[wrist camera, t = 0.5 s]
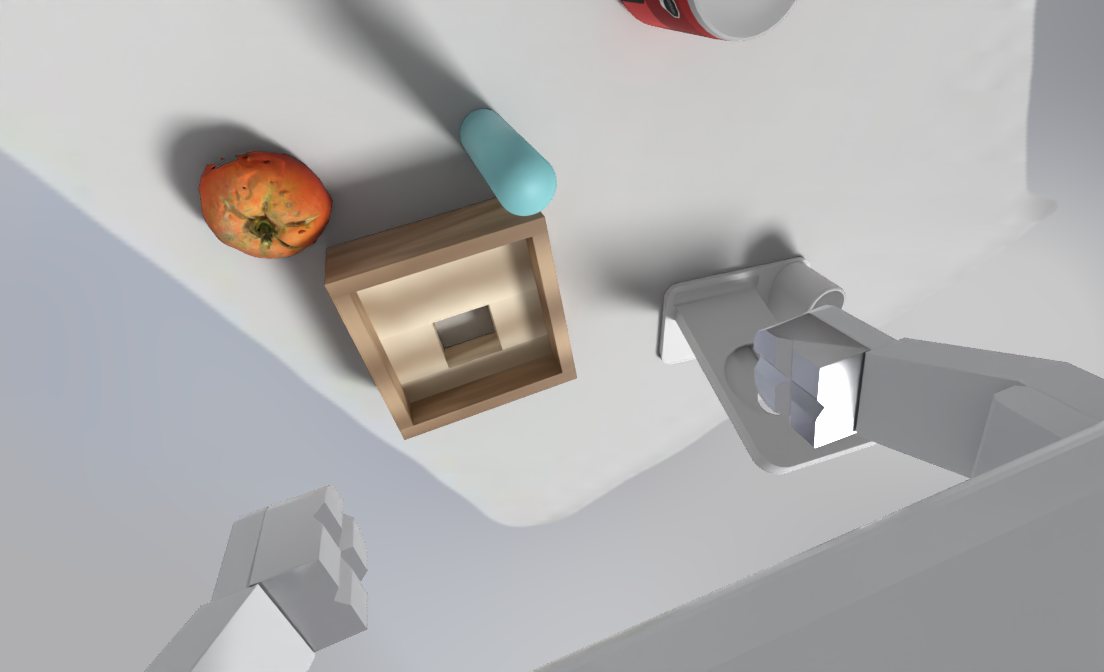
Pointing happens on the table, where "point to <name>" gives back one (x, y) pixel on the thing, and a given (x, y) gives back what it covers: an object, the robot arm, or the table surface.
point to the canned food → (713, 16)
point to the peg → (508, 163)
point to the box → (453, 312)
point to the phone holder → (749, 349)
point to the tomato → (264, 204)
